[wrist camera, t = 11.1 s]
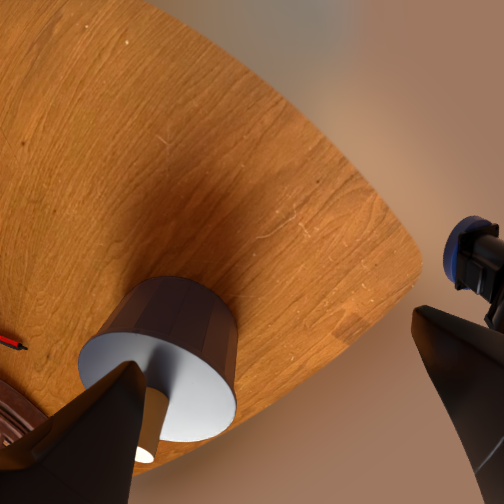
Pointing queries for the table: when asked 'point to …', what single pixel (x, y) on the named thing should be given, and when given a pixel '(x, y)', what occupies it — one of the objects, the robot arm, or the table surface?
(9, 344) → the pen
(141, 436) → the canister lid
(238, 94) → the table surface
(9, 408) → the desk lamp
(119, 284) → the table surface
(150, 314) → the canister
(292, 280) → the table surface
